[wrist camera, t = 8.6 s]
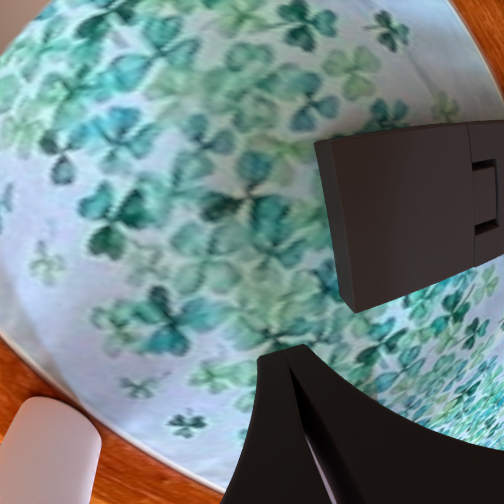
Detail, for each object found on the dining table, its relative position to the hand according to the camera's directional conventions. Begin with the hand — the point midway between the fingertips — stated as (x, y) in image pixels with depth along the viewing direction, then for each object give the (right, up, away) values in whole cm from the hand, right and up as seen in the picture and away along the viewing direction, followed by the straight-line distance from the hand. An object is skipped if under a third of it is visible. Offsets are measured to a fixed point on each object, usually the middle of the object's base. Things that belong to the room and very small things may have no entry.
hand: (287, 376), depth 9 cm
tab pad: (+7, +6, +7) cm, 11 cm away
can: (-14, -9, +9) cm, 19 cm away
